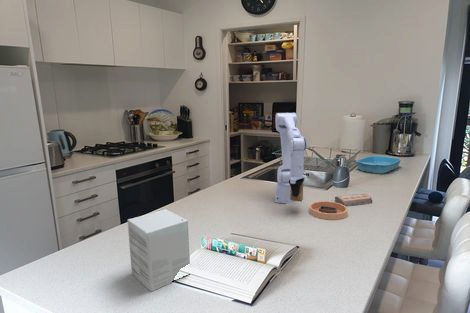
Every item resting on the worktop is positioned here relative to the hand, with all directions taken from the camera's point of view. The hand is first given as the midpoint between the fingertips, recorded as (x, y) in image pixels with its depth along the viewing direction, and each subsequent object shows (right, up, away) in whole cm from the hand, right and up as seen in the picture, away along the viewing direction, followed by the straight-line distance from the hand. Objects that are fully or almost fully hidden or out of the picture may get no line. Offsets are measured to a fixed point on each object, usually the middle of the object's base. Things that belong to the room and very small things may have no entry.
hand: (296, 195), depth 142 cm
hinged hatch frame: (+14, -8, 0) cm, 16 cm away
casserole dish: (+72, +8, +81) cm, 109 cm away
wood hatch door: (0, -2, 0) cm, 2 cm away
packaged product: (+29, -7, +12) cm, 32 cm away
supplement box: (-50, -19, -44) cm, 69 cm away
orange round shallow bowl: (+14, -9, 0) cm, 16 cm away
